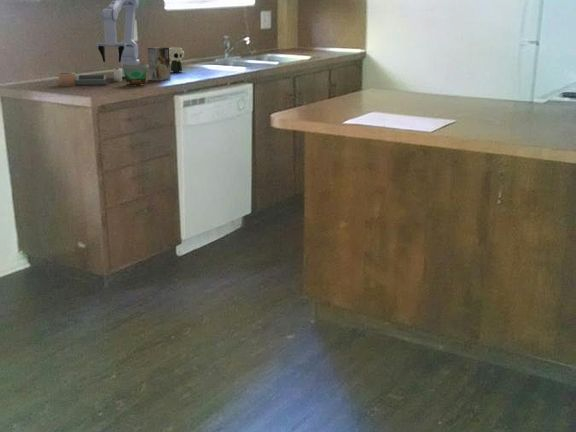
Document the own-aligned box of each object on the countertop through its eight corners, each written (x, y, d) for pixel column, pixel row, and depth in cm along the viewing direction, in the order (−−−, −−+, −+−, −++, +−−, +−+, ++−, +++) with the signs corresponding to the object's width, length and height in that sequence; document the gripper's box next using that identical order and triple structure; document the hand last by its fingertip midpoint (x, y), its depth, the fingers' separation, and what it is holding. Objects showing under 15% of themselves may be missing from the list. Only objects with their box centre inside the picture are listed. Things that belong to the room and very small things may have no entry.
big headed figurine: (171, 73, 402) (170, 49, 398) (164, 72, 407) (163, 48, 403) (188, 72, 409) (187, 48, 405) (181, 70, 414) (180, 47, 410)
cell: (122, 80, 374) (121, 67, 372) (122, 81, 370) (121, 68, 368) (114, 80, 373) (113, 67, 371) (114, 81, 369) (113, 68, 367)
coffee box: (163, 78, 383) (161, 46, 378) (170, 79, 379) (169, 47, 374) (148, 79, 377) (147, 47, 372) (156, 80, 373) (155, 48, 368)
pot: (76, 84, 359) (75, 71, 357) (75, 86, 351) (74, 73, 349) (59, 84, 357) (58, 71, 355) (58, 86, 350) (57, 73, 348)
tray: (106, 79, 376) (105, 74, 375) (105, 84, 357) (105, 79, 356) (77, 80, 373) (77, 75, 372) (76, 85, 354) (75, 80, 353)
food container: (126, 86, 351) (125, 65, 348) (123, 85, 357) (122, 64, 354) (151, 85, 357) (150, 64, 354) (147, 83, 362) (146, 63, 359)
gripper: (94, 34, 358) (96, 62, 362) (124, 34, 360) (125, 62, 364) (96, 33, 365) (98, 61, 369) (126, 33, 366) (127, 61, 370)
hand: (112, 61), depth 367 cm, fingers open, 7 cm apart
